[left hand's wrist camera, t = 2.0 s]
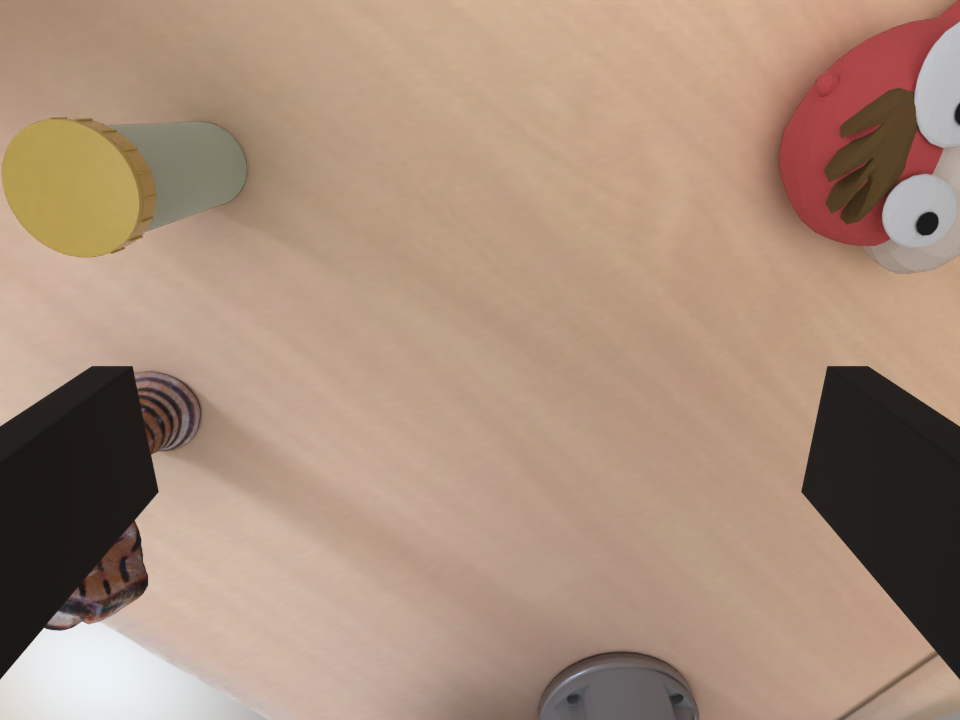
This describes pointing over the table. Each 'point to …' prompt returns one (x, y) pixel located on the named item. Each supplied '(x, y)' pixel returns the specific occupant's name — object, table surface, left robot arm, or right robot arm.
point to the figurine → (122, 567)
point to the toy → (884, 147)
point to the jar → (188, 166)
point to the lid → (78, 186)
